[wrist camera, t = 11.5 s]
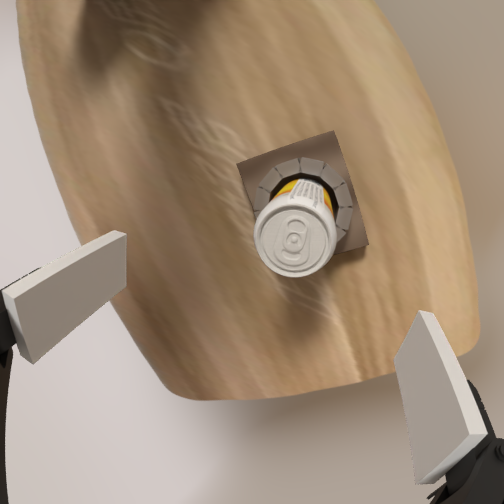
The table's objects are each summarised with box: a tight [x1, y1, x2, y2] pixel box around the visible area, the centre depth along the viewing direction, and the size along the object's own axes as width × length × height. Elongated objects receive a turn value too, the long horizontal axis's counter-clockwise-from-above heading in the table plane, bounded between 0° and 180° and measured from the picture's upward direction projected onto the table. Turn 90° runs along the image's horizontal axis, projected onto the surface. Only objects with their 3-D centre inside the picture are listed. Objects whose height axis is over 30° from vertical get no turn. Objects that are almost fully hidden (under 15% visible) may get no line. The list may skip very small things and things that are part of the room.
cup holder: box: [237, 130, 369, 255], centre depth 34 cm, size 14×12×6 cm
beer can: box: [254, 178, 337, 277], centre depth 28 cm, size 6×6×15 cm
